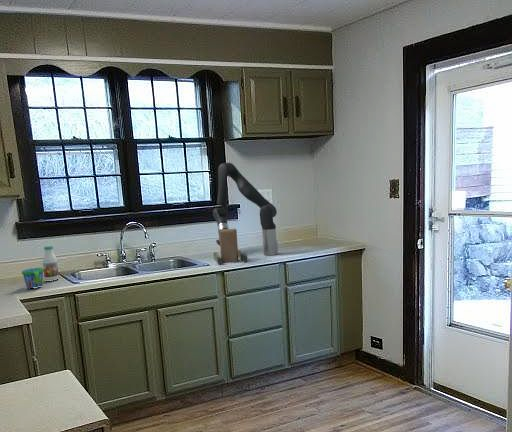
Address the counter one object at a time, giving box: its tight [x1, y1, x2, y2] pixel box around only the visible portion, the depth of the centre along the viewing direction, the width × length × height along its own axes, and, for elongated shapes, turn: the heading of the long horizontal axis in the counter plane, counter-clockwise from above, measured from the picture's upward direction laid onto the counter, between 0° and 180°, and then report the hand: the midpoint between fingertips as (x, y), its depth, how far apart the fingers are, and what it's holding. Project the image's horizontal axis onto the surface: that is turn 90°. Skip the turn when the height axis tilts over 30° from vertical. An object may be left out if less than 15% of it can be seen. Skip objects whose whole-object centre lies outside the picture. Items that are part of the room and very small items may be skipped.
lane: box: [213, 249, 248, 266], centre depth 298 cm, size 18×26×4 cm
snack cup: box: [21, 267, 44, 289], centre depth 250 cm, size 16×10×10 cm
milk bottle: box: [42, 245, 60, 281], centre depth 267 cm, size 8×8×20 cm
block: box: [218, 228, 239, 263], centre depth 295 cm, size 10×10×20 cm
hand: (227, 251), depth 307 cm, fingers closed
